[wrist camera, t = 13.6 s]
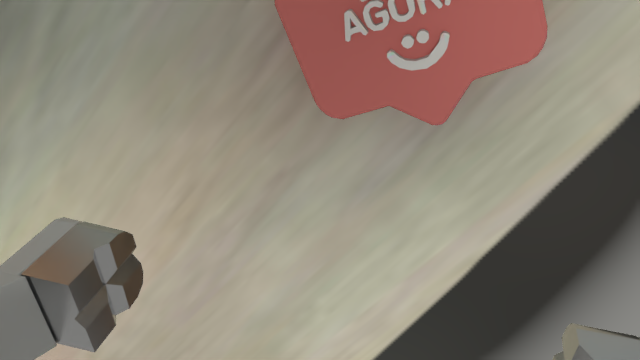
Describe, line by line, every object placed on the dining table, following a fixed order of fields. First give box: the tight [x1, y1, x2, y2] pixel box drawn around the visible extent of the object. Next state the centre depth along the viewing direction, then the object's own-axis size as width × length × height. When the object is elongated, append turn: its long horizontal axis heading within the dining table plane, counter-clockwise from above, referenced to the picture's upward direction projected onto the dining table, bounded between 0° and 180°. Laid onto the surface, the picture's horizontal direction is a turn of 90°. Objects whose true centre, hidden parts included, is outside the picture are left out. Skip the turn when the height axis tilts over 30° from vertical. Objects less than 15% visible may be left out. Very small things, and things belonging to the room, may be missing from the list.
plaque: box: [275, 0, 547, 125], centre depth 38 cm, size 18×4×15 cm
